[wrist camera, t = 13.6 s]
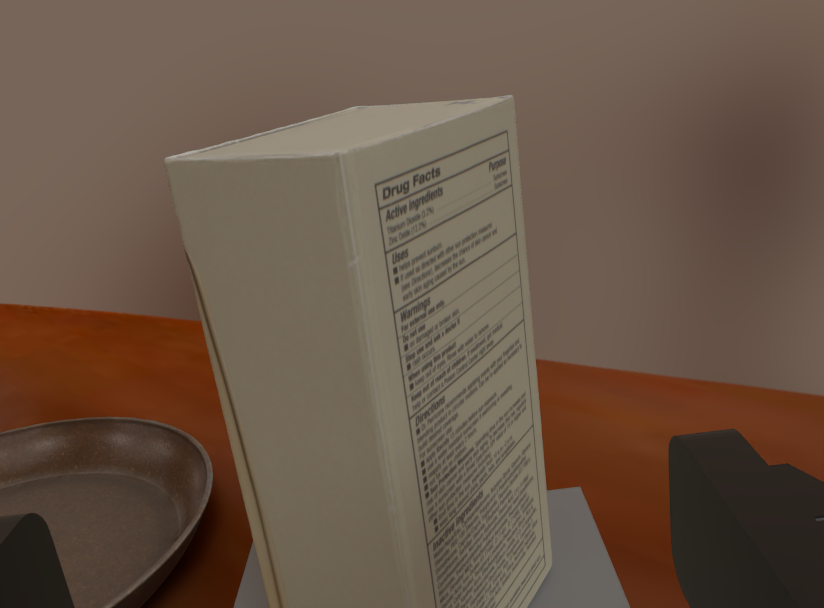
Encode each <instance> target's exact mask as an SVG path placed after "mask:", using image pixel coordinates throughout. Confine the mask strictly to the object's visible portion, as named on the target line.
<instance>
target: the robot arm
mask: <svg viewBox="0 0 824 608" xmlns="http://www.w3.org/2000/svg"><path fill="white" fill-rule="evenodd" d="M669 486H670V519H671V546H672V554H673V560H674V565H675V569H676V573H677V577H678V580H679V583H680V586H681V589H682V591H683V594H684V596H685V598H686V600H687V602H688V604H689V606H690V608H824V482H822V481H820V480H818V479H816V478H814V477H812V476H810V475H809V474H807V473H805V472H803V471H801V470H799V469H797V468H795V467H793V466H791V465H790V464H788V463H787V464H779V465H771V466H768V465H767V463H766V462H765V461H764V460H763V459H762V458H761V457H760V455H759V454H758V453H757V452H756V451H755V450H754V449H753V447H752V446H751V445H750V444H749V443H748V442H747V441H746V439H745V438H744V437H743V436H742V435H741V434H740V433H739V432H738V431H737V430H735V429H727V430H719V431H711V432H703V433H695V434H687V435H678V436H673V437H672V438H671V441H670V444H669ZM0 608H75V607H74V604H73V601H72V598H71V595H70V592H69V589H68V586H67V582H66V579H65V576H64V573H63V570H62V567H61V564H60V561H59V558H58V555H57V552H56V549H55V545H54V542H53V539H52V536H51V533H50V530H49V528H48V525H47V523H46V522H45V520H44V519H43V518H42V517H41V516H40V515H38V514H36V513H27V514H19V515H11V516H2V517H0Z"/></svg>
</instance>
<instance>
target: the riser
mask: <svg viewBox="0 0 824 608" xmlns="http://www.w3.org/2000/svg"><path fill="white" fill-rule="evenodd" d="M547 502H548V513H549V524H550V538H551V548H552V566H551V569H550V570H549V572H548V574H547V575H546V577H545V579H544V580H543V582H542V584H541V585H540V587H539V589H538V590H537V592H536V594H535V596H534V597H533V599H532V601H531V602H530V604H529V606H528V607H527V608H630V606H629V604H628V601H627V599H626V596H625V594H624V592H623V589H622V587H621V584H620V582H619V579H618V577H617V575H616V572H615V570H614V567H613V565H612V562H611V560H610V558H609V555H608V553H607V550H606V548H605V545H604V543H603V541H602V538H601V536H600V533H599V531H598V529H597V526H596V524H595V521H594V519H593V516H592V514H591V512H590V509H589V507H588V504H587V502H586V499H585V497H584V495H583V492H582V490H581V487H574V488H566V489H558V490H550V491H547ZM234 608H269V605H268V600H267V596H266V592H265V589H264V584H263V580H262V576H261V571H260V567H259V563H258V559H257V554H256V550H255V546H254V541H253V543H252V547H251V550H250V553H249V557H248V560H247V564H246V567H245V570H244V574H243V577H242V581H241V584H240V587H239V591H238V594H237V598H236V601H235V604H234Z"/></svg>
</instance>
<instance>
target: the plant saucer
mask: <svg viewBox="0 0 824 608" xmlns="http://www.w3.org/2000/svg"><path fill="white" fill-rule="evenodd" d="M212 483H213V470H212V464H211V461H210V458H209V456H208V454H207V452H206V451H205V449H204V447H203V446H202V445H201V444H200V443H199V442H198V441H197V440H196V439H195V438H193V437H192V436H191V435H189V434H187V433H185V432H184V431H182V430H180V429H178V428H175V427H173V426H170V425H167V424H164V423H160V422H157V421H152V420H142V419H138V418H126V417H96V418H81V419H71V420H62V421H55V422H49V423H42V424H37V425H32V426H27V427H23V428H18V429H13V430H9V431H5V432H1V433H0V517H2V516H11V515H19V514H27V513H36V514H38V515H40V516H41V517H42V518H43V519H44V520H45V522H46V523H47V525H48V528H49V530H50V533H51V536H52V539H53V542H54V545H55V549H56V552H57V555H58V558H59V561H60V564H61V567H62V570H63V573H64V576H65V579H66V582H67V586H68V589H69V592H70V595H71V598H72V601H73V604H74V607H75V608H140V607H141V606H142V605H143V604H144V603H145V602H146V601H147V600H148V599H149V598H150V597H151V596H152V595H153V594H154V592H155V591H156V590H157V589H158V588H159V587H160V586H161V584H162V583H163V582H164V581H165V580H166V578H167V577H168V576H169V574H170V573H171V572H172V570H173V569H174V568H175V566H176V565H177V564H178V562H179V561H180V559H181V558H182V556H183V555H184V553H185V551H186V549H187V548H188V546H189V544H190V543H191V541H192V539H193V537H194V535H195V533H196V531H197V529H198V526H199V524H200V522H201V519H202V517H203V514H204V512H205V509H206V506H207V503H208V500H209V497H210V493H211V489H212Z"/></svg>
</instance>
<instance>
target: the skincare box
mask: <svg viewBox="0 0 824 608" xmlns="http://www.w3.org/2000/svg"><path fill="white" fill-rule="evenodd" d="M517 145H518V144H517V131H516V121H515V107H514V98H513V96H512V95H507V96H502V97H495V98H481V99H468V100H456V101H442V102H428V103H427V102H426V103H418V104H396V105H385V106H357V107H352V108H349V109H346V110H343V111H340V112H336V113H333V114H329V115H325V116H322V117H318V118H314V119H310V120H307V121H304V122H301V123H297V124H293V125H289V126H286V127H282V128H277V129H275V130H271V131H267V132H264V133H259V134H255V135H253V136H249V137H246V138H242V139H238V140H233V141H229V142H225V143H223V144H220V145H216V146H212V147H208V148H204V149H200V150H194V151H189V152H186V153H183V154H180V155H175V156H170V157H167V158H165V160H164V166H165V169H166V173H167V178H168V182H169V187H170V191H171V195H172V199H173V203H174V207H175V211H176V215H177V220H178V224H179V228H180V232H181V235H182V239H183V244H184V248H185V252H186V257H187V261H188V265H189V270H190V274H191V279H192V283H193V287H194V291H195V296H196V300H197V305H198V309H199V314H200V317H201V322H202V326H203V330H204V334H205V339H206V343H207V347H208V352H209V356H210V360H211V364H212V368H213V372H214V376H215V381H216V385H217V388H218V393H219V398H220V402H221V406H222V410H223V415H224V419H225V423H226V427H227V431H228V435H229V439H230V444H231V448H232V452H233V457H234V461H235V465H236V470H237V474H238V478H239V482H240V487H241V491H242V495H243V499H244V504H245V508H246V512H247V516H248V520H249V524H250V528H251V533H252V537H253V541H254V546H255V550H256V554H257V559H258V563H259V567H260V571H261V576H262V580H263V584H264V589H265V592H266V596H267V600H268V605H269V608H527V607H528V606H529V604H530V602H531V601H532V599H533V597H534V596H535V594H536V592H537V590H538V589H539V587H540V585H541V584H542V582H543V580H544V579H545V577H546V575H547V574H548V572H549V570H550V569H551V566H552V548H551V538H550V524H549V513H548V502H547V489H546V477H545V466H544V455H543V442H542V430H541V417H540V405H539V394H538V382H537V370H536V359H535V347H534V339H533V323H532V311H531V299H530V288H529V276H528V263H527V252H526V241H525V228H524V217H523V206H522V192H521V183H520V168H519V155H518V146H517Z"/></svg>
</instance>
